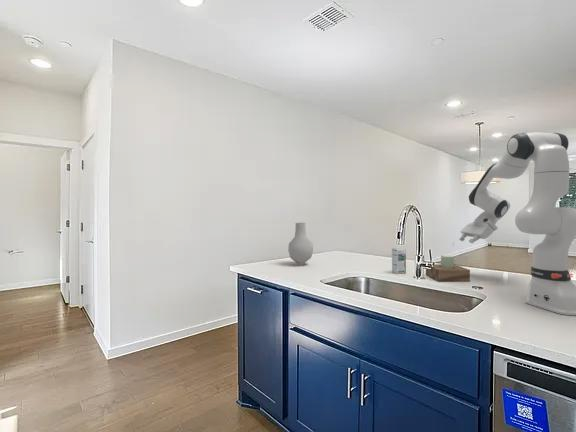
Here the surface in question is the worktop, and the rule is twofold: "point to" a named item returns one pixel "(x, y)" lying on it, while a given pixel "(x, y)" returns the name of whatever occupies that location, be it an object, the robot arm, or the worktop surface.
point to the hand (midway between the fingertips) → (465, 241)
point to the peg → (447, 261)
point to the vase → (300, 246)
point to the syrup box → (398, 260)
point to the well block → (448, 273)
